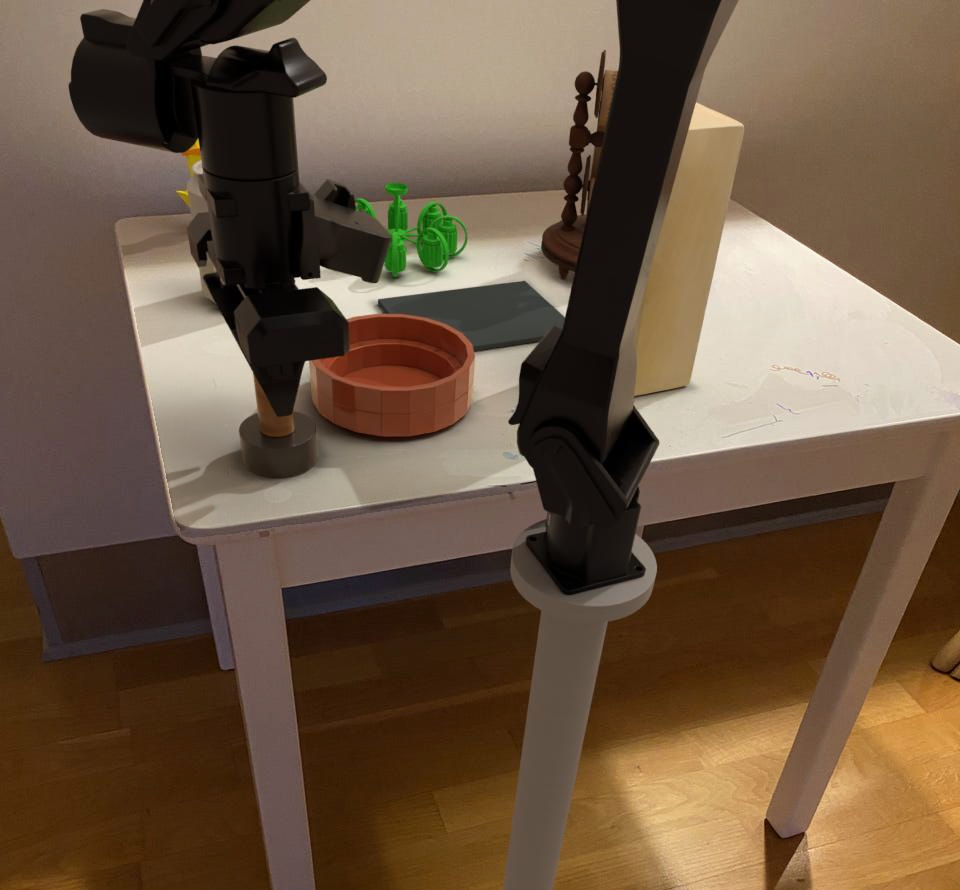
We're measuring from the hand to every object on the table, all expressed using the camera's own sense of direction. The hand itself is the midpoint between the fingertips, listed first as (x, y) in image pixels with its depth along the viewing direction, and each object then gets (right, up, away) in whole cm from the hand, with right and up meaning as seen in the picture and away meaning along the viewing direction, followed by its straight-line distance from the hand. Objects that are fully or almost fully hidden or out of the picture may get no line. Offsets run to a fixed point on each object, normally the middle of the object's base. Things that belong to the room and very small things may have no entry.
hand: (274, 397), depth 68 cm
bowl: (+8, +3, +11) cm, 13 cm away
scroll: (+29, +23, +34) cm, 50 cm away
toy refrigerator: (+28, +6, +17) cm, 34 cm away
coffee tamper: (0, -4, +3) cm, 5 cm away
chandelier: (+6, +24, +33) cm, 41 cm away
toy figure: (-14, +27, +35) cm, 47 cm away
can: (-8, +16, +23) cm, 29 cm away
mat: (+15, +13, +23) cm, 30 cm away
